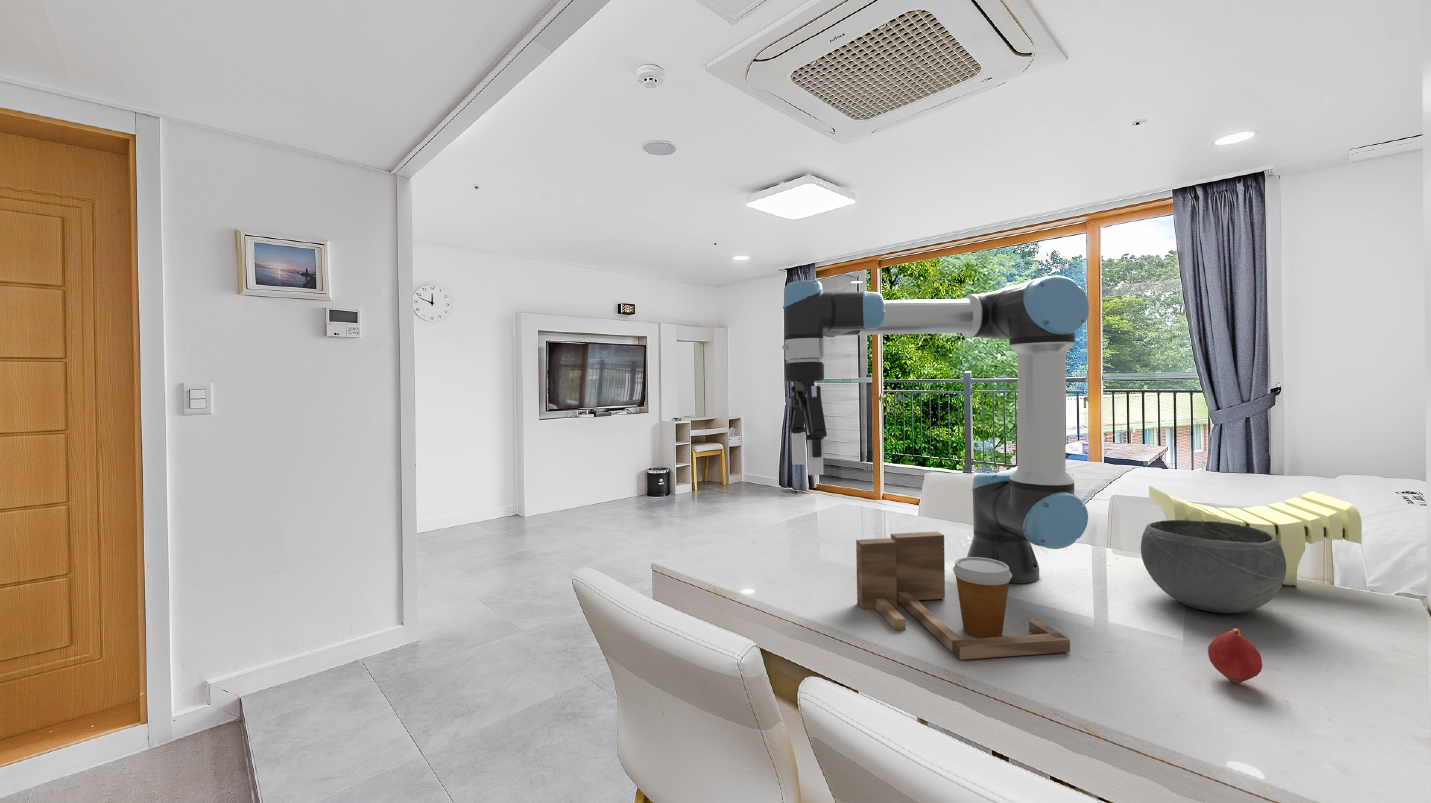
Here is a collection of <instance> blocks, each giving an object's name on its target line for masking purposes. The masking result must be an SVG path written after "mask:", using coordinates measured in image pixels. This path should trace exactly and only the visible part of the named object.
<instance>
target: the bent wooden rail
mask: <svg viewBox="0 0 1431 803" xmlns="http://www.w3.org/2000/svg"><path fill="white" fill-rule="evenodd" d="M890 539H892V540H893V541H895V542H896V592H897V602H898V603H899V604H900V605H901V606H902V607H903V608H905V610H906V611H907V612H908V613H910V615H912V616H913V617H914V618H915V619H916V620H917V621H919V623H920V624H921V625H922V626H924V627H925V628H926V629H927V630H928V631H929V632H930V633H931V634H932V635H933V636H935V637H936V639H937V640H938V641H939V642H941V643H942V644H943V645H944V646H945V647H946V648H947V649H948V650H949V651H951V652H952V653H953V655H955V656H956V657H957V659H959V661H960V660H961V661H962V660H972V659H973V660H975V659H986V658H1002V657H1004V658H1005V657H1015V656H1030V655H1041V654H1042V655H1043V654H1044V655H1045V654H1054V653H1055V654H1056V653H1070V652H1071V639H1070V638H1069V637H1066V636H1065V635H1064V634H1062V633H1060V632H1059V631H1057V630H1055V629H1054V628H1052V627H1051V626H1049V625H1048V624H1046V623H1044V622H1043V621H1042V620H1040V619H1032V620H1031V619H1030V620H1028V633H1030V634H1025V635H1024V634H1023V635H1008V636H1001V637H991V638H979V637H976V638H965V639H964V638H962V637H961V636H960V635H958V634H957V633H956V632H955V631H954V630H952V629H951V628H950V627H949V626H948V625H946V623H944V622H943V621H942V620H941V619H940V618H938V617H937V616H936V615H935V614H934V613H933V612H931V611H930V610H929V609H928V608H927V607H926V606H924V604H922V603H921V602H920V601H926V600H927V601H928V600H930V601H931V600H944V599H946V579H945V578H946V575H945V574H946V572H945V570H946V569H945V565H946V564H945V560H946V559H945V534H942V533H941V532H939V531H937V530H936V531H920V532H919V531H918V532H900V533H899V532H898V533H890Z"/></svg>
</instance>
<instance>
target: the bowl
mask: <svg viewBox="0 0 1431 803" xmlns="http://www.w3.org/2000/svg"><path fill="white" fill-rule="evenodd" d="M1140 554H1141V555H1140V556H1141V560H1142V562H1143V565H1144V568H1145V569H1146V571H1147V573H1148V574H1149V576H1150V577H1151V579H1152V580H1153V581H1154V582H1155V584H1156V585H1157V586H1158V587H1159V588H1160V589H1161V590H1162V591H1163V592H1164V593H1165V594H1167V595H1168V596H1169V597H1171V598H1172V599H1174V600H1176V601H1177V602H1180V603H1181V604H1183V605H1185V606H1188V607H1190V608H1193V609H1197V610H1201V611H1205V612H1210V613H1220V614H1232V613H1233V614H1235V613H1236V614H1239V613H1246V612H1250V611H1254V610H1256V609H1258V608H1261V607H1263V606H1264V605H1265V604H1268V602H1271V600H1272V599H1274V598H1275V597H1276V596H1277V595H1278V593H1279V592H1280V590H1281V589H1282V586H1283V585H1282V584H1283V582H1284V580H1285V576H1286V560H1285V556H1284V553H1283V550H1282V547H1281V545H1280V544H1279V542H1278V540H1277V538H1276V537H1275V536H1274V535H1273V534H1271V533H1268V532H1266V531H1263V530H1261V529H1257V528H1253V527H1248V526H1244V525H1243V526H1241V525H1238V524H1232V523H1224V522H1213V521H1189V520H1166V519H1165V520H1160V521H1159V520H1158V521H1155V522H1150V523H1148V524H1147V525H1146V526H1145V528H1144V531H1143V533H1142V536H1141V542H1140Z"/></svg>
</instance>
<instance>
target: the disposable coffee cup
mask: <svg viewBox="0 0 1431 803" xmlns="http://www.w3.org/2000/svg"><path fill="white" fill-rule="evenodd" d="M952 571H953V574H954V575H955V579H956V587H957V593H958V594H957V595H958V601H959V607H960V614H961V622H962V629H963V631H964V632H965V633H966V634H968V635H970V636H971V637H976V638H991V637H1003V632H1004V631H1003V630H1004V625H1005V624H1004V623H1005V615H1006V607H1007V601H1008V594H1009V593H1008V592H1009V584H1010V583H1009V581H1010V579H1011V578H1012V574H1011V572H1010V570H1009V567H1008V565H1006V564H1005V563H1003V562H1000V561H997V560H994V559H988V558H980V557H967V556H966V557H961V558H958V559H957V560H956V561H955V563H954V566H953V567H952Z"/></svg>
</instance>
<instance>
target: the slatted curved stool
mask: <svg viewBox="0 0 1431 803" xmlns="http://www.w3.org/2000/svg"><path fill="white" fill-rule="evenodd" d="M1148 497H1149V499H1151V500H1153V501H1154V502H1155V503H1156V504H1157V505H1159V506H1160V507H1161V510H1162V511H1163V514H1164V516H1165V521H1166V520H1189V521H1213V522H1224V523H1232V524H1238V525H1241V526H1243V525H1244V526H1248V527H1253V528H1257V529H1261V530H1263V531H1266V532H1268V533H1271V534H1273V535H1274V536H1275V537H1276V538H1277V540H1278V542H1279V544H1280V545H1281V547H1282V550H1283V553H1284V556H1285V560H1286V576H1285V580H1284V582H1283V585H1282V586H1293V585H1294V586H1295V587H1297V586H1298V568H1299V565H1300V563H1301V562H1300V561H1301V560H1302V557H1303V555H1304V553H1305V552H1306V543H1307V544H1310V545H1312V544H1315V543H1318V542H1321V541H1324V539H1328V540H1334V541H1336V540H1337V541H1343V540H1345V541H1347V542H1352V543H1355V544H1359V545H1362V541H1363V540H1362V537H1363V536H1362V532H1363V531H1362V528H1363V527H1362V524H1363V522H1362V517H1361V515H1360V512H1359V510H1358V509H1357V506H1355V505H1354V504H1353V503H1352V502H1348V501H1345V500H1342V499H1338V498H1336V497H1332V496H1328V495H1327V494H1326V495H1325V494H1322V493H1319V492H1315V491H1309V492H1307V493H1304V494H1302V495H1300V498H1298V497H1296V496H1295V497H1293V498H1288V499H1286V500H1284V503H1282V502H1280V501H1279V502H1275V503H1272V504H1271V503H1270V504H1268V507H1267V506H1264V505H1260V506H1252V507H1243V508H1242V509H1239V508H1238V507H1237V508H1236V507H1235V508H1230V507H1229V508H1228V507H1216V508H1215V507H1213V506H1209V505H1204V504H1200V503H1199V504H1198V503H1194V502H1191V501H1190V502H1189V501H1187V500H1184V499H1182V498H1178V497H1175V496H1173V495H1170V494H1168V493H1166V492H1163V491H1160V490H1159V489H1157V488H1155V487H1152V486H1151V485H1149V486H1148Z"/></svg>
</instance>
